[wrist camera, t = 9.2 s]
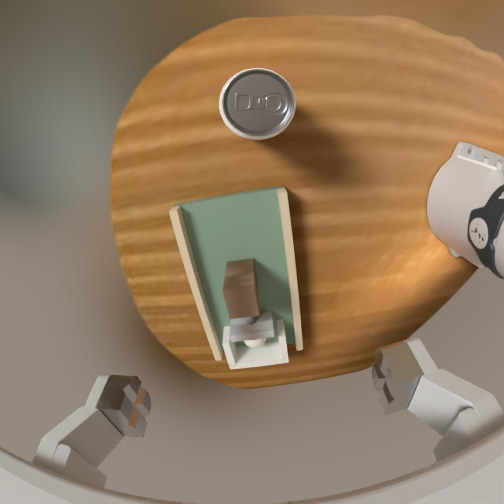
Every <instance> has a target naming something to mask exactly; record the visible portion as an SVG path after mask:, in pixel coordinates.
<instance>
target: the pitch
mask: <svg viewBox="0 0 504 504" xmlns="http://www.w3.org/2000/svg"><path fill="white" fill-rule="evenodd" d="M169 213H170V217H171V221H172V224H173V228H174V232H175V235H176V239H177V243H178V246H179V250H180V253H181V256H182V260H183V263H184V267H185V270H186V273H187V276H188V280H189V283H190V286H191V289H192V293H193V296H194V299H195V302H196V305H197V308H198V311H199V314H200V317H201V320H202V323H203V326H204V329H205V332H206V335H207V338H208V340H209V343H210V346H211V349H212V352H213V354H214V357H215V360H216V361H217V360H222V353H223V352H224V349H223V345H222V342H223V332H224V327H226V326H230V321H231V319H230V318H229V314H228V310H227V306H226V303H225V299H224V295H223V285H224V278H225V271H226V264H227V262H231V261H237V260H244V259H251V258H253V260H254V266H255V271H256V277H257V282H258V298H259V312H265V311H272V318H273V327H274V337H269V338H266V341H265V343H270V342H277V341H279V338H278V330H277V322H276V320H280V319H283V323H284V330H285V336H286V344H293V343H295V344H296V350H297V351H299V350H303V343H302V330H301V318H300V306H299V295H298V285H297V274H296V265H295V255H294V246H293V237H292V229H291V220H290V212H289V204H288V197H287V191H286V189H285V187H284V186H279V187H273V188H266V189H259V190H253V191H247V192H241V193H235V194H229V195H223V196H217V197H212V198H206V199H201V200H196V201H191V202H185V203H180V204H175V205H174V206H173V208H172V209H171V210H170V211H169ZM235 344H236V347H237V346H246V344H245V342H244V341H237V342H235Z"/></svg>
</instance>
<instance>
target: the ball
mask: <svg viewBox="0 0 504 504" xmlns="http://www.w3.org/2000/svg"><path fill="white" fill-rule="evenodd" d="M265 341H266V338H262V339H254V340H246V341H244V342H245V344H246V345H247V346H249V347H251V348H259V347H261V346H262V345H263V344H264V343H265Z"/></svg>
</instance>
